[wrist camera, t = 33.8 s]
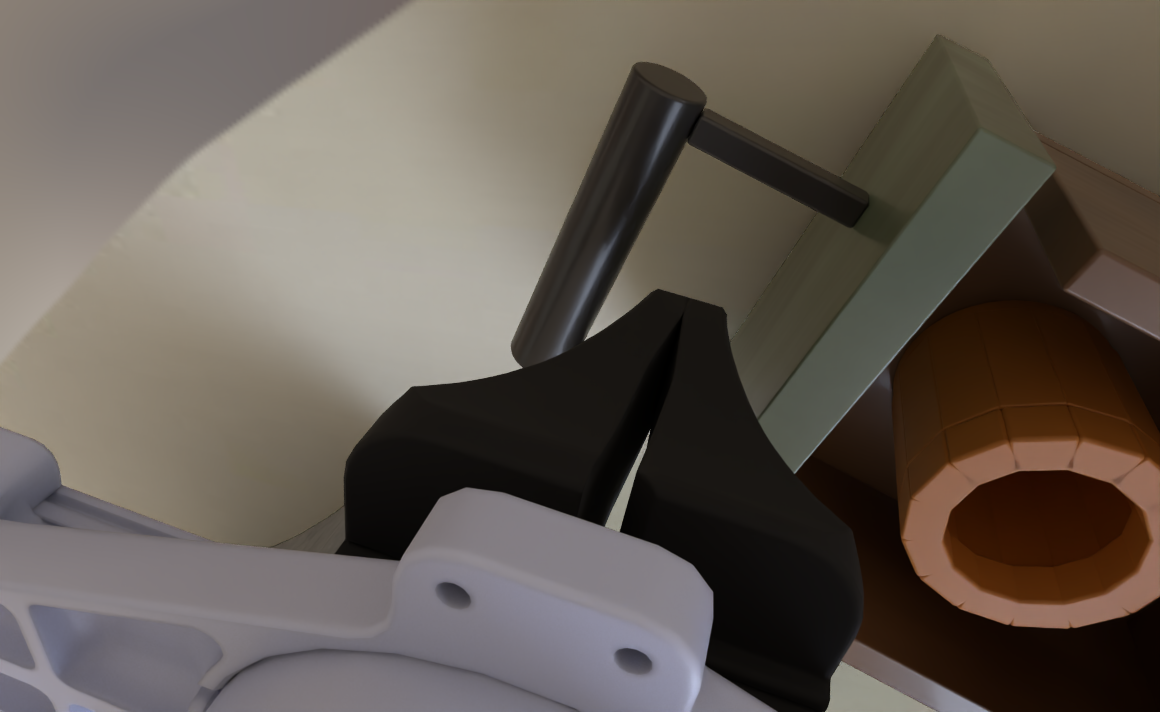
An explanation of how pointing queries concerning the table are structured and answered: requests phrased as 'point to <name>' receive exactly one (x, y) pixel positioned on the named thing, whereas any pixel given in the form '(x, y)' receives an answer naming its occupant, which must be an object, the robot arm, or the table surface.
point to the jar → (1026, 468)
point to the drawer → (895, 334)
